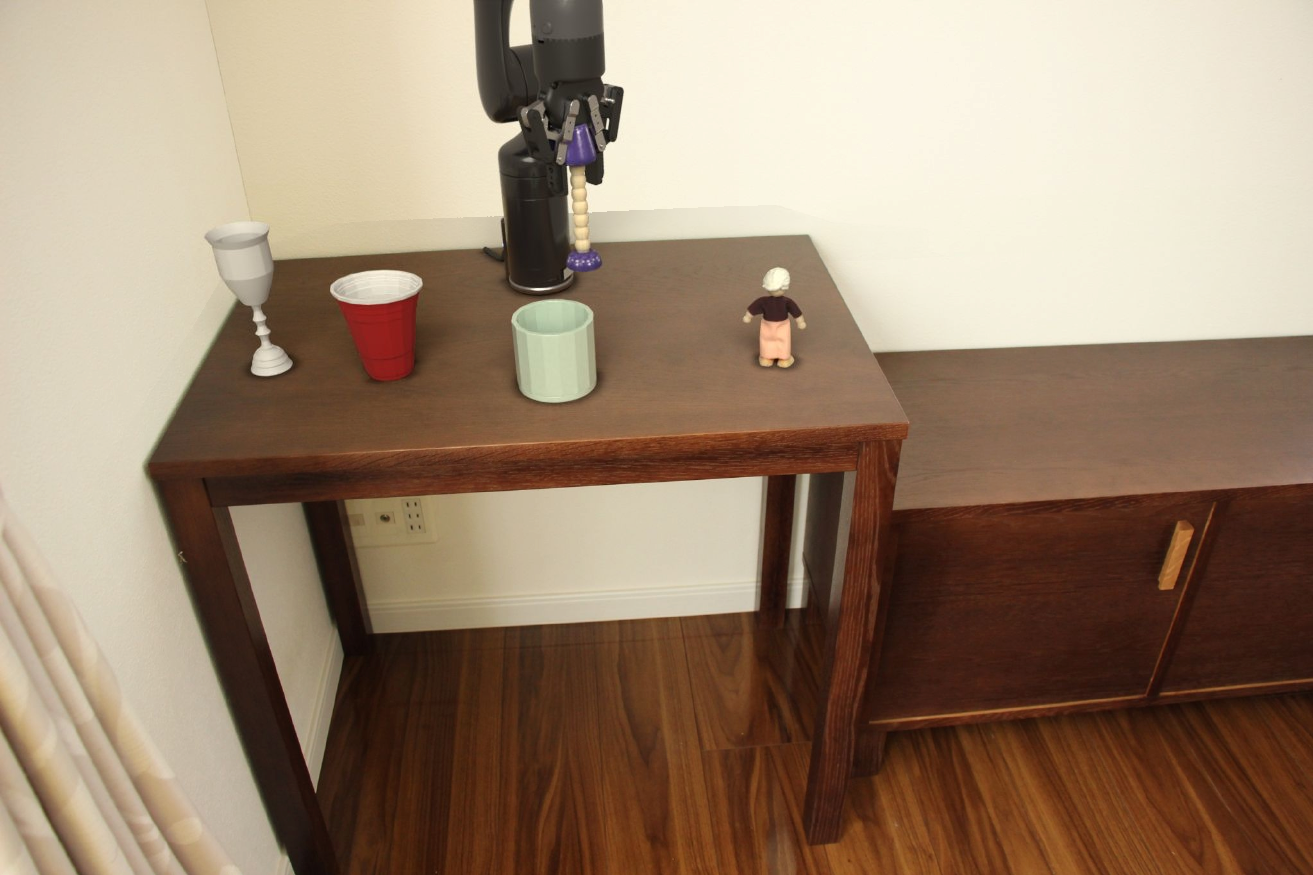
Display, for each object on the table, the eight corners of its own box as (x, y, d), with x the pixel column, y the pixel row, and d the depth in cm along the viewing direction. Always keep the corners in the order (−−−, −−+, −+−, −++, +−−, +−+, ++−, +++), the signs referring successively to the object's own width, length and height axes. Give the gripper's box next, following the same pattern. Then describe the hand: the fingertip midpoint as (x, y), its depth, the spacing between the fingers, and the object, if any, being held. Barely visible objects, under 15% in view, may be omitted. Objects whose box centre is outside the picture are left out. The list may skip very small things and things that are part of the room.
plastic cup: (451, 356, 127) (438, 269, 121) (406, 396, 119) (391, 306, 112) (378, 343, 130) (362, 259, 124) (330, 383, 122) (310, 294, 115)
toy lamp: (596, 275, 114) (589, 129, 105) (557, 272, 115) (547, 127, 106) (605, 259, 118) (600, 117, 109) (568, 256, 119) (559, 115, 110)
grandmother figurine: (800, 354, 127) (807, 262, 120) (803, 368, 124) (811, 275, 117) (740, 354, 127) (744, 262, 120) (742, 369, 124) (746, 275, 117)
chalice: (245, 384, 122) (207, 247, 112) (237, 361, 127) (200, 228, 117) (306, 370, 125) (274, 235, 115) (296, 348, 130) (264, 217, 120)
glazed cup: (502, 383, 121) (495, 317, 116) (561, 356, 127) (556, 292, 122) (554, 411, 116) (548, 343, 111) (612, 381, 121) (610, 315, 116)
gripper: (592, 14, 108) (599, 167, 118) (490, 34, 100) (506, 198, 109) (641, 22, 104) (644, 181, 113) (539, 44, 95) (551, 214, 105)
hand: (576, 188), depth 111 cm, fingers closed on toy lamp, 4 cm apart
